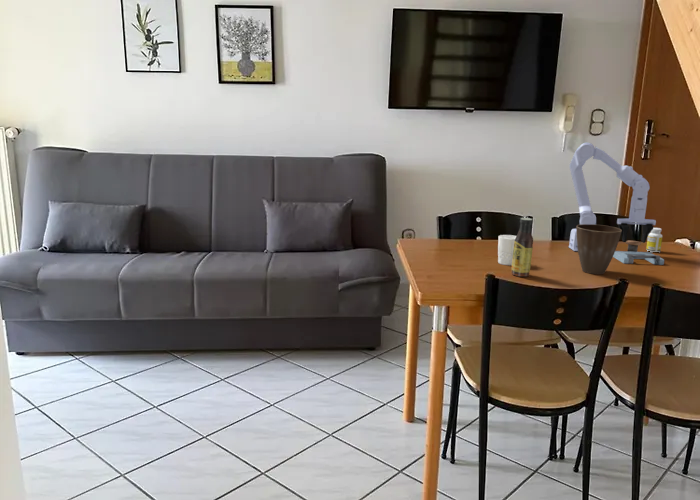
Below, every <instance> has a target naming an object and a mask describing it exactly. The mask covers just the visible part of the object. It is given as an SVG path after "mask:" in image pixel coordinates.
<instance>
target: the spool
mask: <svg viewBox="0 0 700 500" xmlns="http://www.w3.org/2000/svg"><path fill="white" fill-rule="evenodd" d="M641 243H642V242H641V241H636V240H626V242H625V244H627V250H626V251H633V252H638V247H639V246H641Z"/></svg>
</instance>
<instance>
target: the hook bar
mask: <svg viewBox="0 0 700 500" xmlns="http://www.w3.org/2000/svg"><path fill="white" fill-rule="evenodd" d="M627 258H629V261H628V264H629V265H630V264H631V265H632V263H633V264H634V260H633V258H654V259H656V260H655V262H657V261H659V262H660V258H661V256H660V255H659V254H657V255H656V254H654V256H653V255H632V254H628V255H627ZM632 260H633V262H632ZM659 262H657V263H656V264H655V265H656V266H660V265H659Z"/></svg>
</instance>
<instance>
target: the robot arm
mask: <svg viewBox="0 0 700 500" xmlns="http://www.w3.org/2000/svg"><path fill="white" fill-rule="evenodd" d="M590 159H592V160H596V161H597V160H598V161H601V162H602V163H604V164H605V165H606V166H607V167H609V168H611V169H612V170H613V171H615V173H616V174H615V175H616V178H618V179H619V180H620V181H622V182H623V183H624V184H625V185H627V186H628V187H632V196H631V201H630V206H629V207H630V208H629V215H628V218H617V220H616V224H617V225H618V228H619V229H621V230H622V232H621V241H622V242H623V243H626V241H628V240H627V239H628V238H627V237H628V232H629V229H630V226H629V225H641V227H642V228H641V229H642V230H641V231H642V234H641V240H640V242H641V243H643V244H645V243H647V242H646V241H647V239H648V235H649V233H651V231H652V229H653V228H655V227H654V226H656V225H657V224H656V223H657V221H656V219H648V218H647V219H646V218H645V217H646V211H647V203H648V195H649V194H648V192H649V190H650V189H651V188H650V183H649V182H648V180H647V179H646V177H643V175H642V174H639V173H638V172H636V171H635V170H634V167H633V166H631V165H630V166H629V165H621V164H620V163H619V162H618V160H617V161H616V159H614V158H613V156H610V155H609V154H608V152H606V151H605V150H603V149H602V148H600V147H598V146H596V145H595V146H594V144H593V143H592V142H587V141H586V142H583V143H581V144H580V145H579V146H578V147H577V148H576V150H575V151H574V154H573V156H572V158H571V161H570V162H569V170H570V175H571V180H572V184H573V187H574V191H575V196H576V199H577V200H576V201H577V204H578V211H579V216H580V217H579V225H581V224H594V225H597V217H596V214H595V213H594V212H593V209H592V206H591V201H590V197H589V193H588V187H587V184H586V180H585V175H584V172H583V167H584V166H585V164H586V163H587V161H588V160H590ZM568 244H569V245H568V248H569V249H571V250H572V251H573V252H578V247H577V234H576V228H572V229H571V231H570V236H569V243H568Z"/></svg>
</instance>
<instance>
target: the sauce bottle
mask: <svg viewBox="0 0 700 500" xmlns="http://www.w3.org/2000/svg"><path fill="white" fill-rule="evenodd" d="M519 224H520V225H519V229H518V232H517V235H515V236H516V239H515V241H514V249H513V259H512V265H511V274H512V276H515V277H522V278H523V277H529V276H530V273H531V265H532V257H533V256H532V255H533V249H534V246H533V244H534V236H533V235H532V225H533V218H530V217H520V219H519Z"/></svg>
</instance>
